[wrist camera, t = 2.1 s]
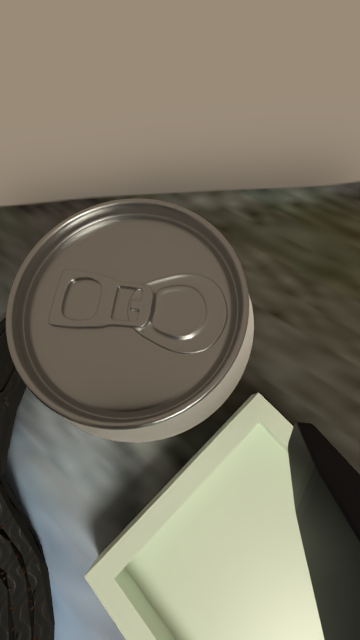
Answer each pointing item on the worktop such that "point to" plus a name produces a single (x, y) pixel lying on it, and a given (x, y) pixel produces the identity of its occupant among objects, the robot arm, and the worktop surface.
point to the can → (131, 320)
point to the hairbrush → (18, 533)
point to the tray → (216, 545)
